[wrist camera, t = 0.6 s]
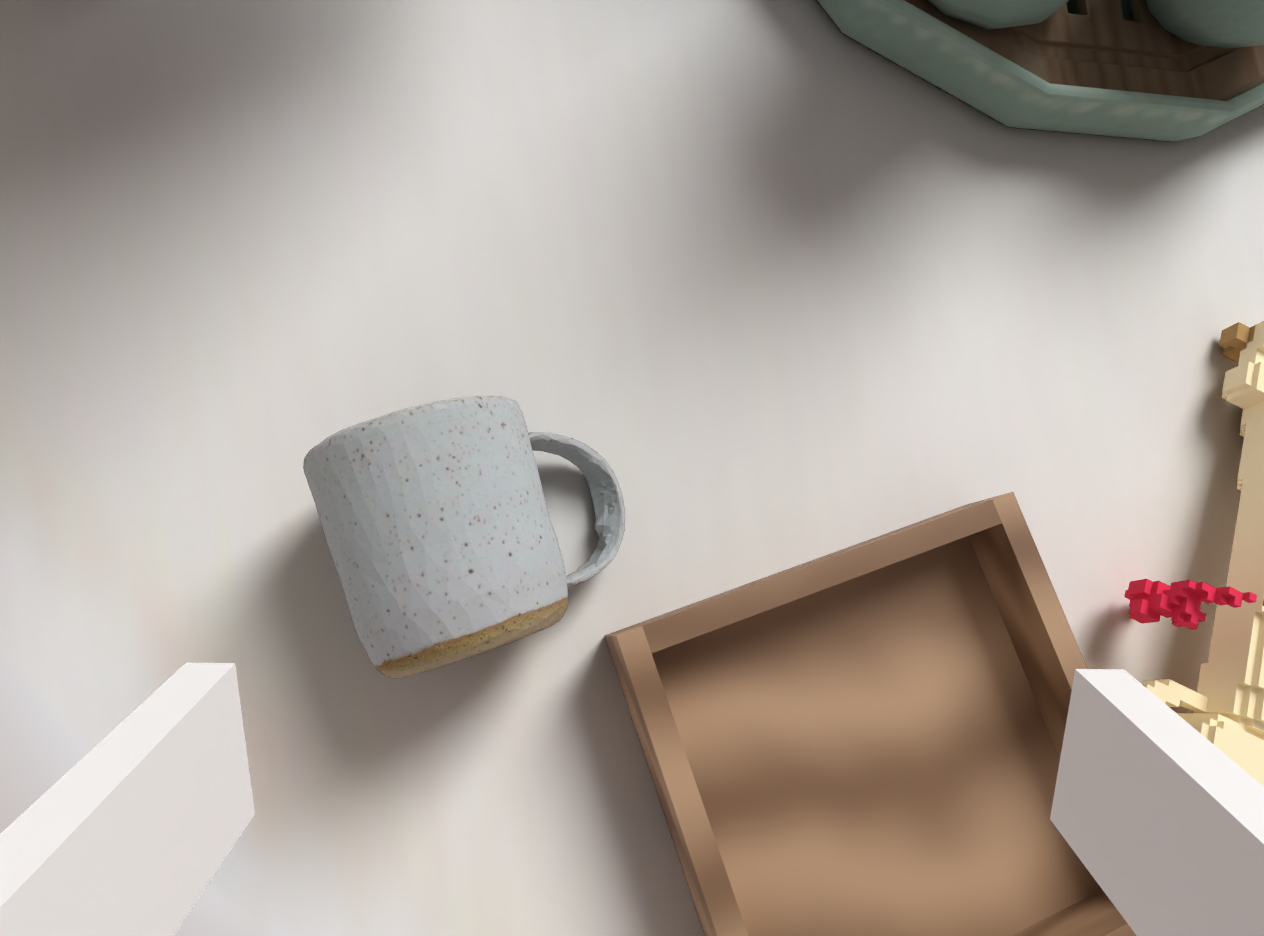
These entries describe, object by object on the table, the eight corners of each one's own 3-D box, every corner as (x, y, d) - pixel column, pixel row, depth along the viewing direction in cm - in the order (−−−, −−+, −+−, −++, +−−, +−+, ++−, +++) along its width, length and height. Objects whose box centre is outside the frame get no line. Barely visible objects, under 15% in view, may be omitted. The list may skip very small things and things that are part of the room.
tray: (604, 635, 32) (616, 636, 28) (966, 504, 35) (1013, 491, 32) (754, 1083, 29) (785, 1139, 26) (1126, 893, 33) (1193, 921, 30)
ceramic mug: (388, 685, 30) (356, 700, 23) (325, 481, 31) (274, 432, 24) (647, 588, 32) (695, 574, 25) (580, 403, 34) (607, 337, 26)
